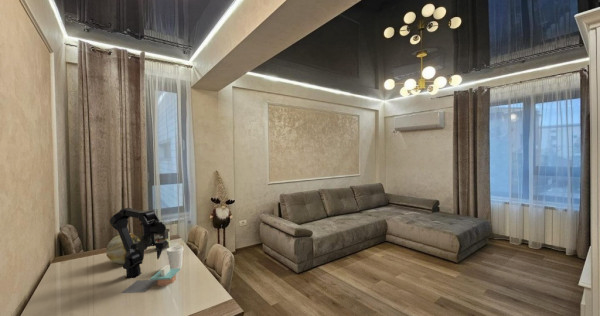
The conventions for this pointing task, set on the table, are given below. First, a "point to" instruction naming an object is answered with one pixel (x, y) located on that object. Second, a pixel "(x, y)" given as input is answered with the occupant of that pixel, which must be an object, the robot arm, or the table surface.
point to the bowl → (166, 281)
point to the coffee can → (163, 238)
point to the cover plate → (168, 276)
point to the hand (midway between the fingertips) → (150, 259)
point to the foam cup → (175, 256)
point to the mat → (140, 286)
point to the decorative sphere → (118, 249)
